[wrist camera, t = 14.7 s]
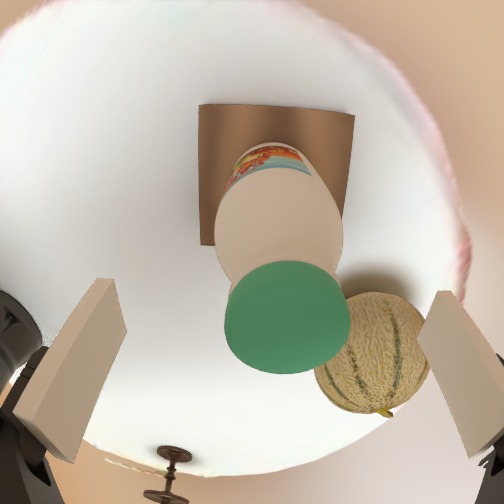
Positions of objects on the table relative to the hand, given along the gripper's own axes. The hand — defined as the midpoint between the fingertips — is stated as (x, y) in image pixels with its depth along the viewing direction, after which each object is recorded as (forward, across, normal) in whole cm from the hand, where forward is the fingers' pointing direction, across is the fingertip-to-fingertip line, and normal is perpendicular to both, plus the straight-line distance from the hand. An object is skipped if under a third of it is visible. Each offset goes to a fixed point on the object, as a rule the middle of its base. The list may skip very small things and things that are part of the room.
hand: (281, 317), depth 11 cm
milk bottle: (+19, 0, 0) cm, 19 cm away
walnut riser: (+22, -1, 0) cm, 22 cm away
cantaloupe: (+22, -14, +18) cm, 31 cm away
